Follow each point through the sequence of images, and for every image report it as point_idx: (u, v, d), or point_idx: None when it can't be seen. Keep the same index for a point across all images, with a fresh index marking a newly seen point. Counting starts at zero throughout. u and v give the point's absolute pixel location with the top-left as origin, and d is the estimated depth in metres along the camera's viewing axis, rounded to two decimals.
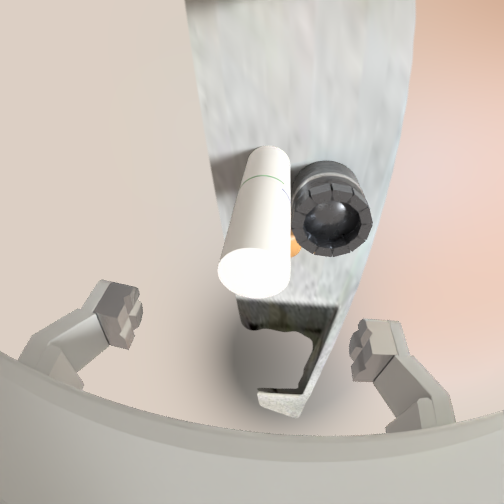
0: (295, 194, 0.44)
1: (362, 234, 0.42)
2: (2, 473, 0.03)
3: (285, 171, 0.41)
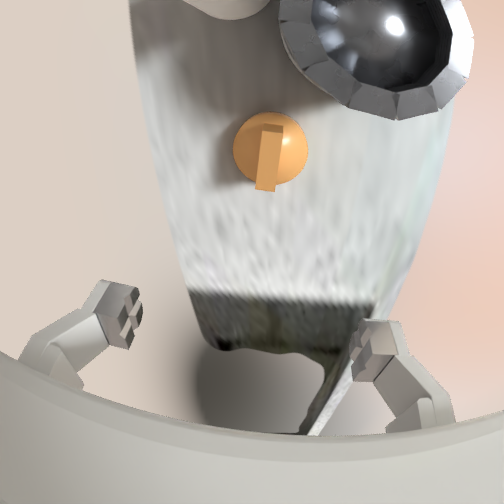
0: None
1: (458, 61, 0.11)
2: (2, 473, 0.03)
3: None
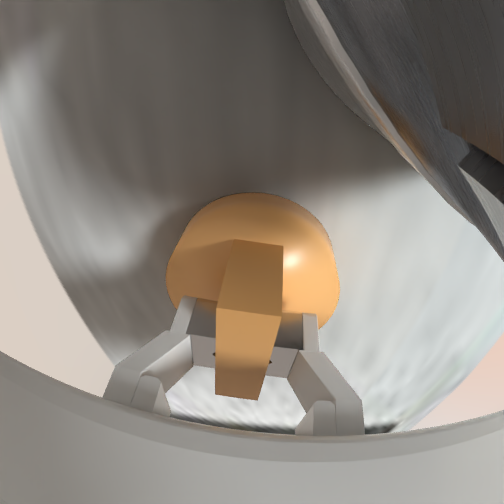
0: None
1: None
2: (2, 474, 0.03)
3: None
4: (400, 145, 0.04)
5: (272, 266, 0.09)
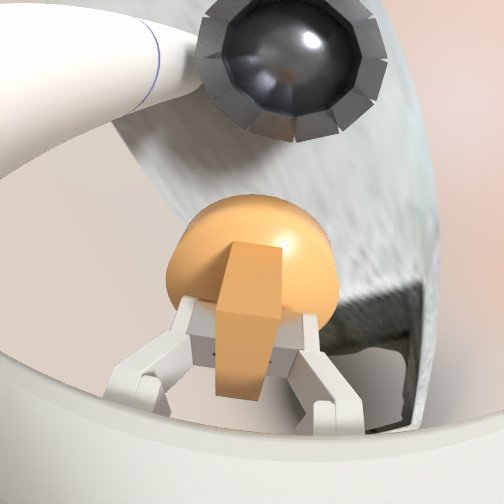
0: None
1: (370, 47, 0.14)
2: (2, 473, 0.03)
3: None
4: None
5: (271, 268, 0.09)
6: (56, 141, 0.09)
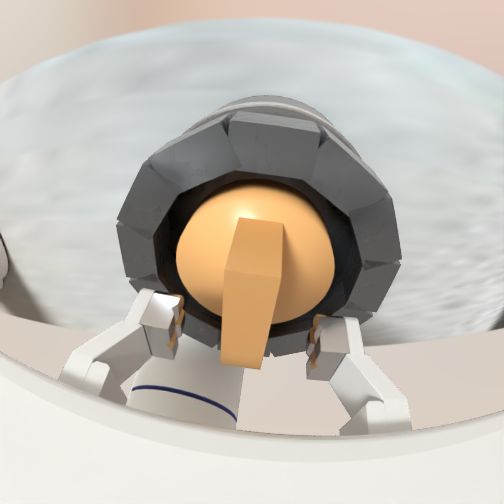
0: None
1: (290, 156, 0.09)
2: (2, 473, 0.03)
3: None
4: None
5: (273, 238, 0.10)
6: None
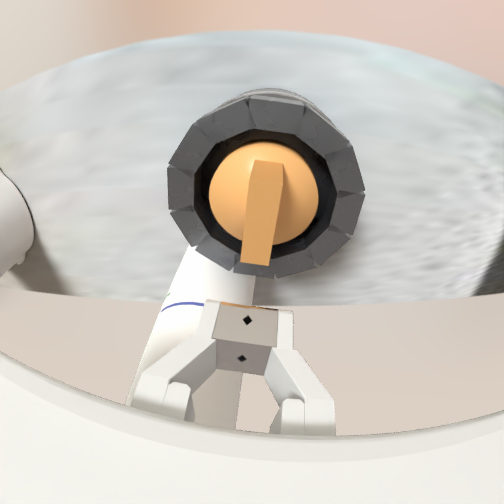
0: None
1: (286, 120, 0.14)
2: (2, 473, 0.03)
3: (187, 257, 0.25)
4: None
5: (277, 169, 0.15)
6: None
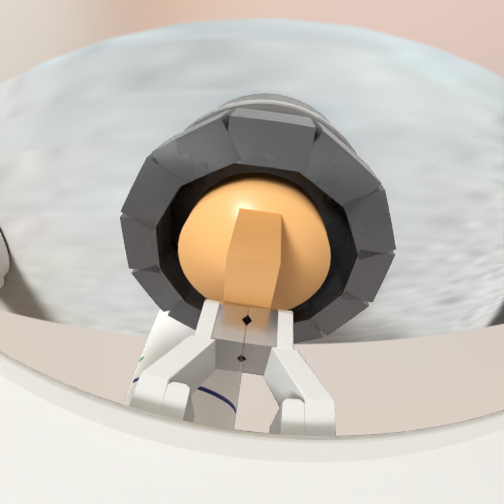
0: None
1: (287, 150, 0.10)
2: (2, 473, 0.03)
3: None
4: None
5: (272, 228, 0.10)
6: None
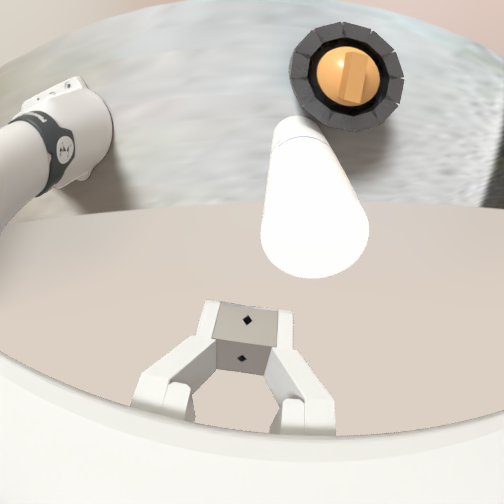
0: None
1: (362, 35, 0.21)
2: (2, 474, 0.03)
3: (282, 130, 0.32)
4: None
5: None
6: None
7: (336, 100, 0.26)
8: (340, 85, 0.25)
